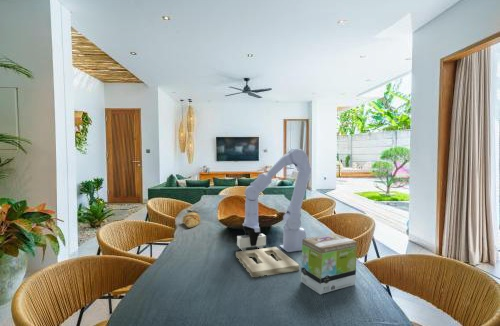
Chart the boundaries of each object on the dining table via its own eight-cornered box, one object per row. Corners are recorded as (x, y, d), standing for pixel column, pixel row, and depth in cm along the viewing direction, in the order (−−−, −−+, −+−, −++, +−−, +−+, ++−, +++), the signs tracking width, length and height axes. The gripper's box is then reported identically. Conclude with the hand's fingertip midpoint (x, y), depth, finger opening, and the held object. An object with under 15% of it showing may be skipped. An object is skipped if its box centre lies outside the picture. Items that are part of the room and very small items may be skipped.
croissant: (194, 235, 155) (201, 222, 155) (177, 227, 154) (184, 214, 154) (197, 224, 176) (203, 212, 176) (183, 216, 175) (189, 205, 175)
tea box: (321, 296, 84) (321, 247, 84) (300, 282, 93) (300, 238, 93) (356, 285, 91) (357, 240, 91) (334, 273, 100) (335, 232, 99)
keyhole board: (276, 251, 121) (276, 246, 121) (299, 270, 102) (299, 264, 102) (235, 256, 115) (235, 251, 115) (252, 277, 96) (252, 272, 96)
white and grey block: (262, 246, 128) (262, 232, 127) (265, 249, 124) (265, 235, 124) (237, 249, 124) (237, 235, 123) (239, 252, 120) (239, 238, 119)
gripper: (238, 210, 128) (237, 239, 129) (248, 217, 115) (248, 250, 115) (252, 209, 131) (252, 238, 131) (264, 216, 117) (264, 248, 118)
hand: (251, 243), depth 124 cm, fingers closed on white and grey block, 4 cm apart
